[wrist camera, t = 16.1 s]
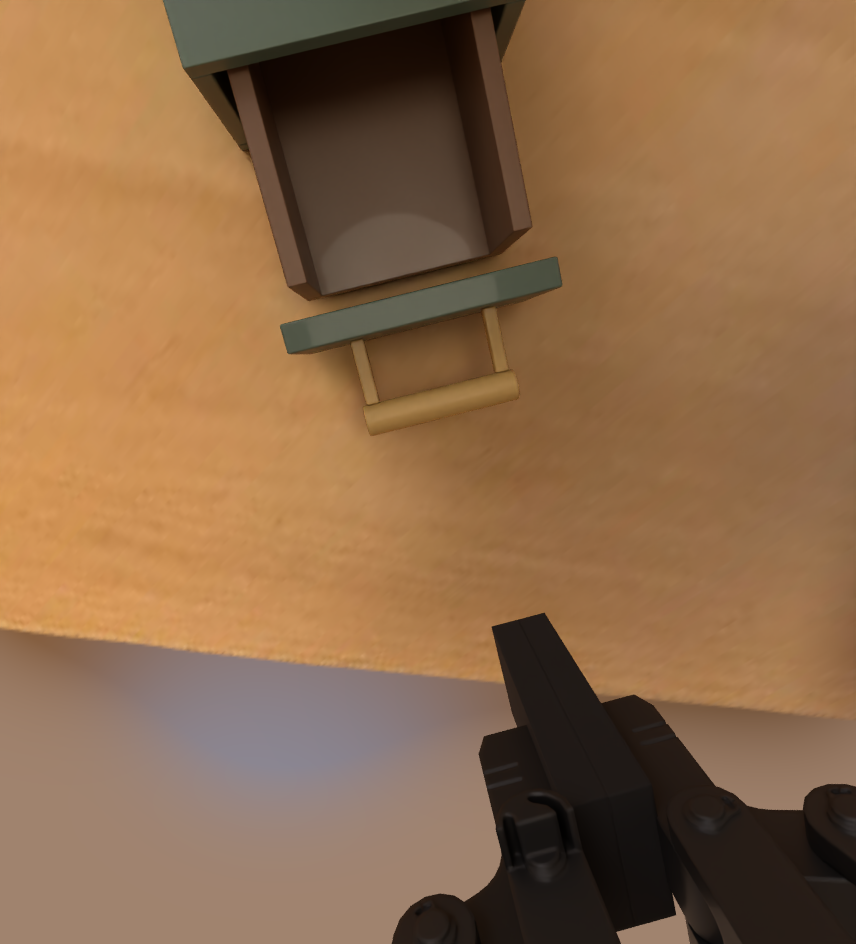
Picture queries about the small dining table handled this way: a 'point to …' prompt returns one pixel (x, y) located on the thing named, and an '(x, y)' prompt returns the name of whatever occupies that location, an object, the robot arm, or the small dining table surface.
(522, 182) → the drawer
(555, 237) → the small dining table surface
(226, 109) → the cabinet
